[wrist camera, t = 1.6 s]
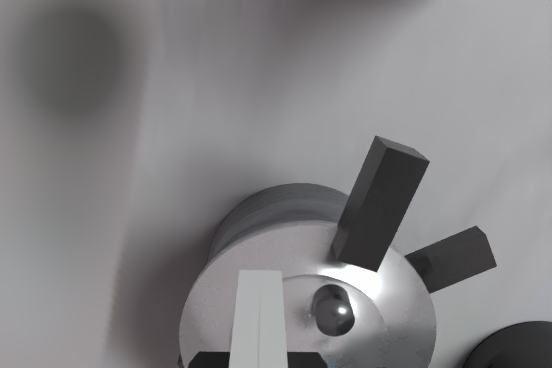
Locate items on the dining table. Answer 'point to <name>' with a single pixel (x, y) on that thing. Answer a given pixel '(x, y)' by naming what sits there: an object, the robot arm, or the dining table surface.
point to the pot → (329, 207)
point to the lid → (331, 277)
